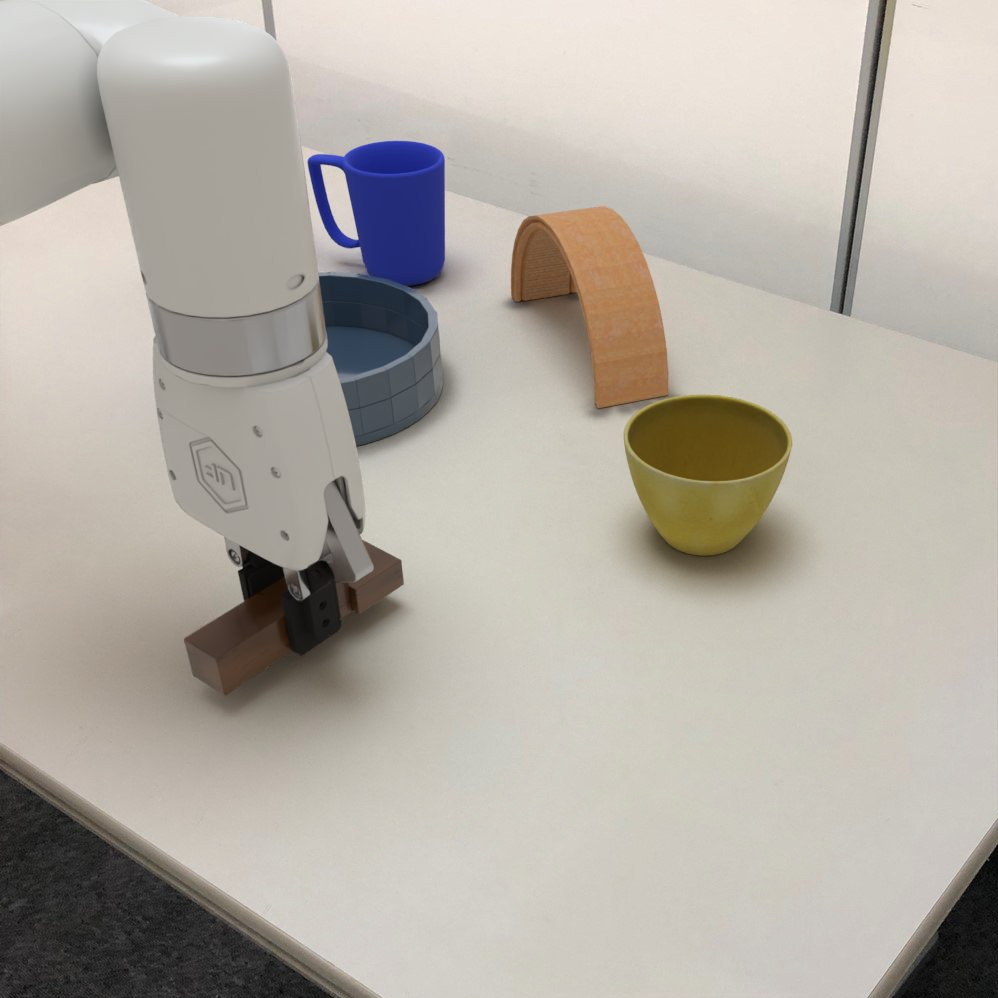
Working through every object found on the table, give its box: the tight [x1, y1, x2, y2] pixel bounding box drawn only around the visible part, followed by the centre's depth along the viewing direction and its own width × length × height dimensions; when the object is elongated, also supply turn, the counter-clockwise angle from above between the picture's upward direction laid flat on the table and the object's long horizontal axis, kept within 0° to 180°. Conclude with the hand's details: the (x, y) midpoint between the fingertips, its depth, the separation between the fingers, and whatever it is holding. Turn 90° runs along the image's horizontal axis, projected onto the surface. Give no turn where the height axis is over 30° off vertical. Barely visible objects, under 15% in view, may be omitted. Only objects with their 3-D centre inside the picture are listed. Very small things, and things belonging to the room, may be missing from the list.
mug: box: [306, 140, 446, 287], centre depth 106 cm, size 8×12×10 cm
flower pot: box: [623, 394, 793, 557], centre depth 77 cm, size 10×10×7 cm
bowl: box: [318, 271, 444, 447], centre depth 91 cm, size 18×18×5 cm
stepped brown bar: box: [183, 539, 405, 697], centre depth 69 cm, size 4×13×3 cm, turn 144°
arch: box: [510, 205, 669, 409], centre depth 96 cm, size 6×20×10 cm, turn 22°
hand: (295, 626), depth 69 cm, fingers closed on stepped brown bar, 2 cm apart
